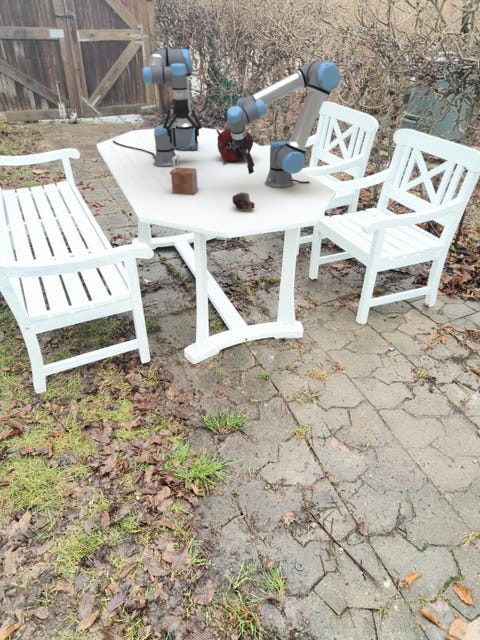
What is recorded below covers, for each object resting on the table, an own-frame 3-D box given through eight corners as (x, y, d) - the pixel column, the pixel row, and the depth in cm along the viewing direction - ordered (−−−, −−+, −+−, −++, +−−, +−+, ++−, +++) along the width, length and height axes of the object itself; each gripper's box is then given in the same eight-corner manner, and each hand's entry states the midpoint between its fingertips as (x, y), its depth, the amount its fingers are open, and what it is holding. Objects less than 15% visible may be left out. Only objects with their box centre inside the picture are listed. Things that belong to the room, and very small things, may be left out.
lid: (169, 174, 240) (168, 158, 236) (175, 169, 248) (173, 153, 243) (191, 175, 238) (190, 159, 234) (196, 170, 246) (195, 154, 241)
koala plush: (198, 150, 320) (196, 121, 309) (173, 151, 319) (170, 122, 308) (198, 145, 335) (196, 116, 324) (174, 145, 334) (171, 117, 322)
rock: (245, 206, 232) (228, 209, 228) (244, 189, 228) (227, 192, 224) (257, 209, 223) (239, 213, 218) (256, 192, 219) (238, 195, 215)
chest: (172, 193, 246) (170, 174, 240) (177, 188, 254) (176, 169, 248) (193, 194, 244) (191, 175, 238) (197, 189, 251) (196, 170, 246)
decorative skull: (214, 132, 305) (214, 129, 282) (248, 124, 304) (250, 121, 281) (221, 164, 312) (221, 164, 288) (254, 157, 311) (257, 156, 288)
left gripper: (154, 99, 225) (159, 144, 237) (203, 99, 223) (205, 144, 235) (158, 97, 231) (162, 140, 243) (205, 97, 229) (207, 141, 241)
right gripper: (221, 124, 233) (228, 154, 252) (244, 154, 222) (250, 182, 242) (233, 117, 233) (240, 147, 252) (257, 146, 223) (262, 176, 242)
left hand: (183, 142), depth 239 cm, fingers open, 13 cm apart
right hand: (245, 165), depth 247 cm, fingers open, 13 cm apart
